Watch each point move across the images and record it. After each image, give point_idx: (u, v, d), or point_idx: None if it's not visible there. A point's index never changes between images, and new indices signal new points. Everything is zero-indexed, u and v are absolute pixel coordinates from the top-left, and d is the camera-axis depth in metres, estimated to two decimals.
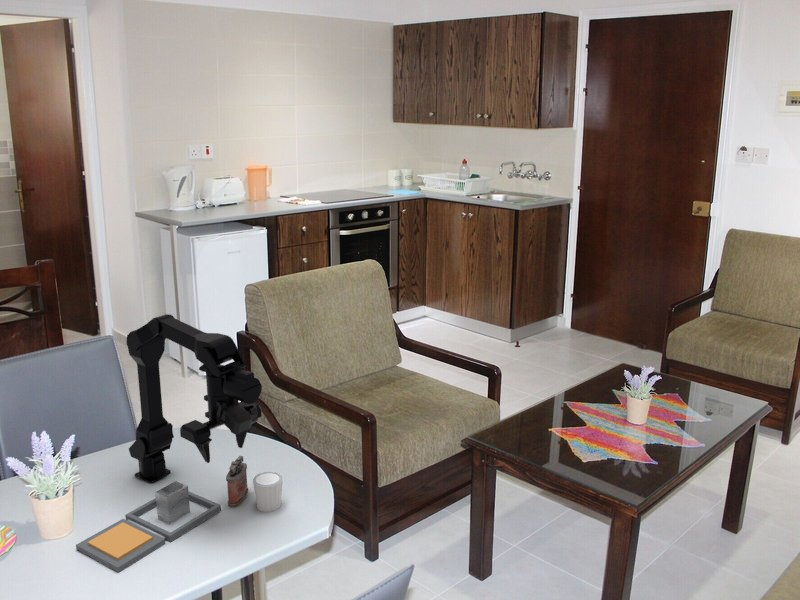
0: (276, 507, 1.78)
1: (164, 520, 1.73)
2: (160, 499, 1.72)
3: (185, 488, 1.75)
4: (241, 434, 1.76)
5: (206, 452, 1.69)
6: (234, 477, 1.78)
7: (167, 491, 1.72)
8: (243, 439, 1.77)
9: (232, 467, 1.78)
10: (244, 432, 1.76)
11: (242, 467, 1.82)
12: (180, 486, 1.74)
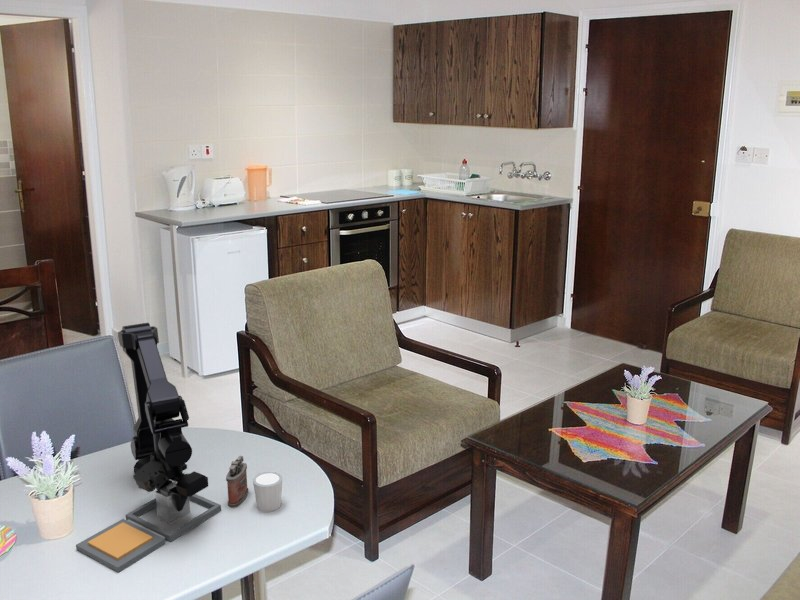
0: (276, 507, 1.78)
1: (164, 519, 1.73)
2: (160, 499, 1.72)
3: None
4: None
5: None
6: (234, 477, 1.78)
7: (167, 491, 1.72)
8: (176, 504, 1.73)
9: (232, 467, 1.78)
10: (175, 497, 1.72)
11: (242, 467, 1.82)
12: None
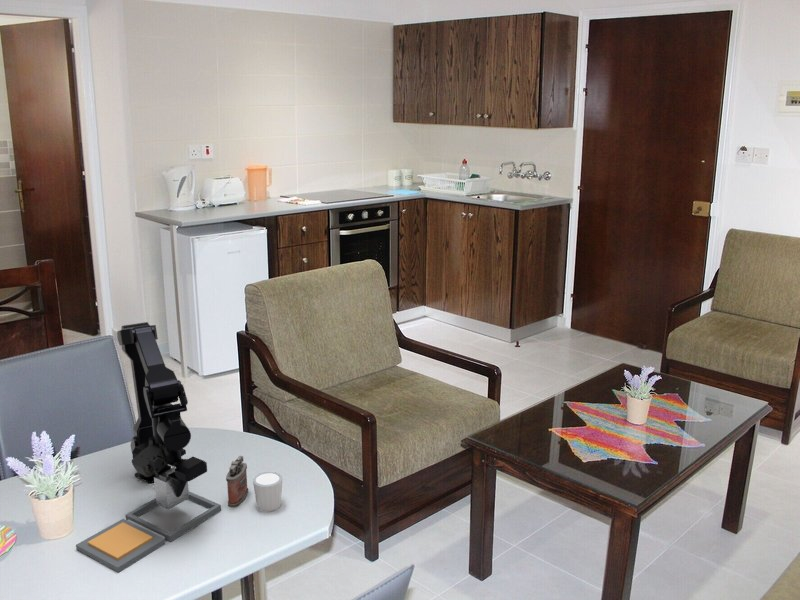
0: (276, 507, 1.78)
1: (162, 505, 1.72)
2: (159, 484, 1.71)
3: None
4: None
5: None
6: (234, 477, 1.78)
7: (166, 476, 1.71)
8: (175, 489, 1.71)
9: (232, 467, 1.78)
10: (174, 483, 1.71)
11: (242, 467, 1.82)
12: None
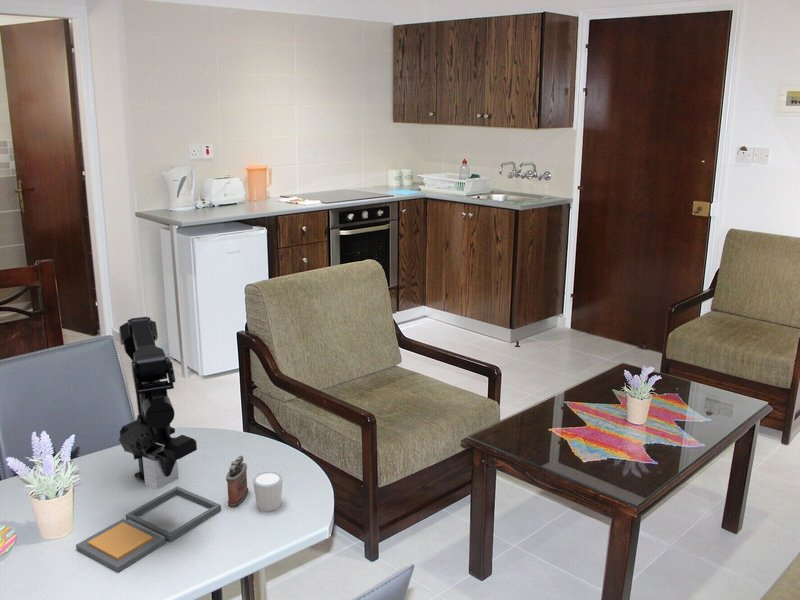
0: (276, 507, 1.78)
1: (151, 485, 1.68)
2: (147, 463, 1.67)
3: None
4: None
5: None
6: (234, 477, 1.78)
7: (154, 455, 1.67)
8: (164, 469, 1.67)
9: (232, 467, 1.78)
10: (163, 462, 1.67)
11: (242, 467, 1.82)
12: None
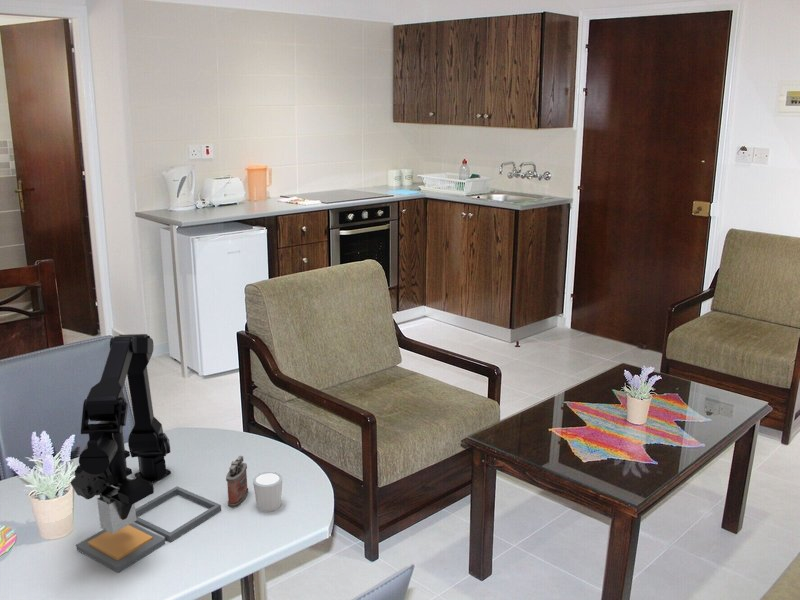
0: (276, 507, 1.78)
1: (106, 529, 1.60)
2: (102, 506, 1.59)
3: None
4: None
5: None
6: (234, 477, 1.78)
7: (110, 498, 1.59)
8: (120, 512, 1.59)
9: (232, 467, 1.78)
10: (118, 505, 1.59)
11: (242, 467, 1.82)
12: None
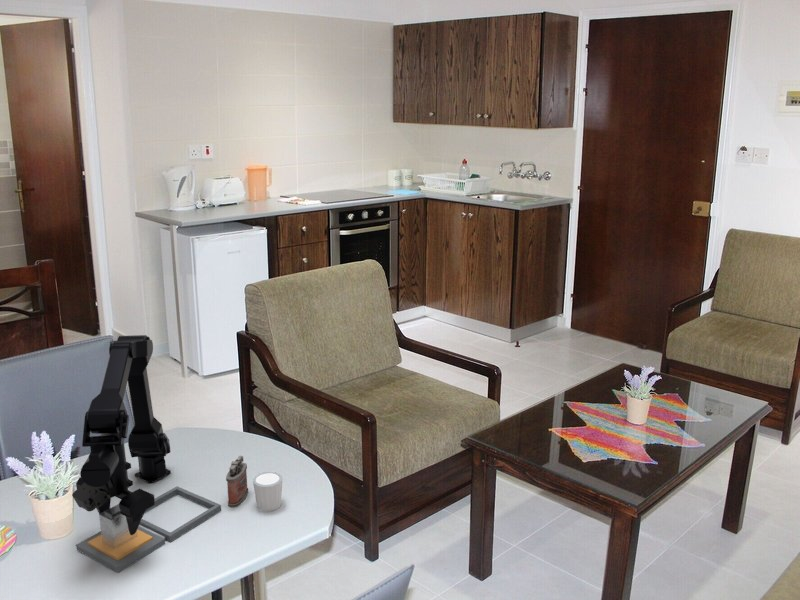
0: (276, 507, 1.78)
1: (108, 544, 1.61)
2: (104, 522, 1.60)
3: None
4: None
5: (96, 508, 1.64)
6: (234, 477, 1.78)
7: (111, 513, 1.60)
8: (129, 527, 1.59)
9: (232, 467, 1.78)
10: (127, 520, 1.58)
11: (242, 467, 1.82)
12: None
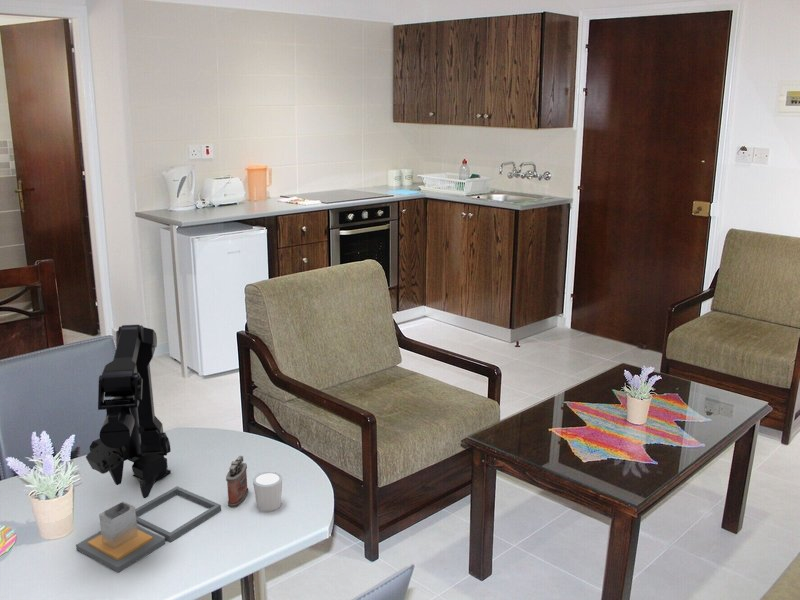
0: (276, 507, 1.78)
1: (108, 544, 1.61)
2: (104, 522, 1.60)
3: (132, 510, 1.63)
4: None
5: (110, 472, 1.65)
6: (234, 477, 1.78)
7: (111, 513, 1.60)
8: (142, 490, 1.60)
9: (232, 467, 1.78)
10: (140, 483, 1.59)
11: (242, 467, 1.82)
12: (126, 508, 1.62)
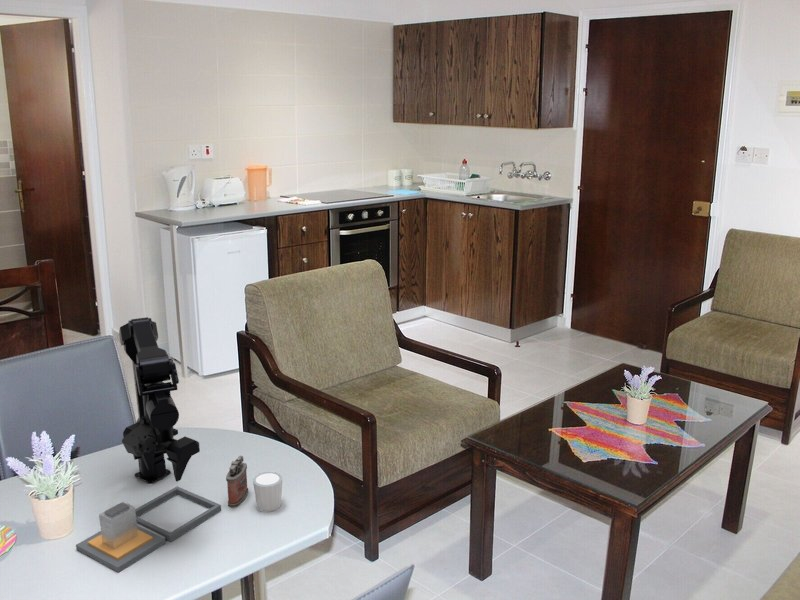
0: (276, 507, 1.78)
1: (108, 544, 1.61)
2: (104, 522, 1.60)
3: (132, 510, 1.63)
4: None
5: (142, 457, 1.71)
6: (234, 477, 1.78)
7: (111, 513, 1.60)
8: (175, 473, 1.66)
9: (232, 467, 1.78)
10: (173, 467, 1.65)
11: (242, 467, 1.82)
12: (126, 508, 1.62)
